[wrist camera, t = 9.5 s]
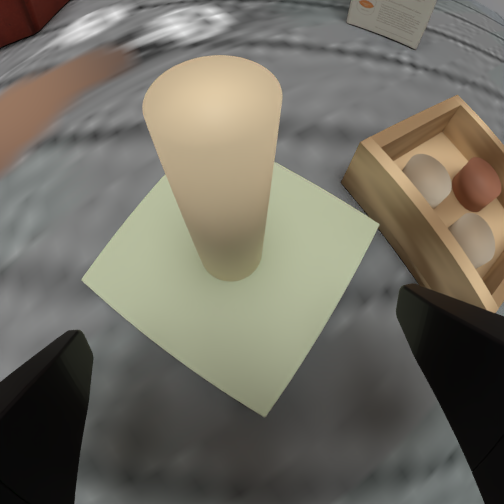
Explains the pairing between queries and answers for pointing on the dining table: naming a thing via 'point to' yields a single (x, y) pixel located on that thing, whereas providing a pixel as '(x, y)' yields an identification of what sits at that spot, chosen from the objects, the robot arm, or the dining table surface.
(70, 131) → the dining table surface
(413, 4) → the small box
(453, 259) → the oak box
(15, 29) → the plant pot
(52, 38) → the dining table surface
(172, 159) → the beige peg on base
